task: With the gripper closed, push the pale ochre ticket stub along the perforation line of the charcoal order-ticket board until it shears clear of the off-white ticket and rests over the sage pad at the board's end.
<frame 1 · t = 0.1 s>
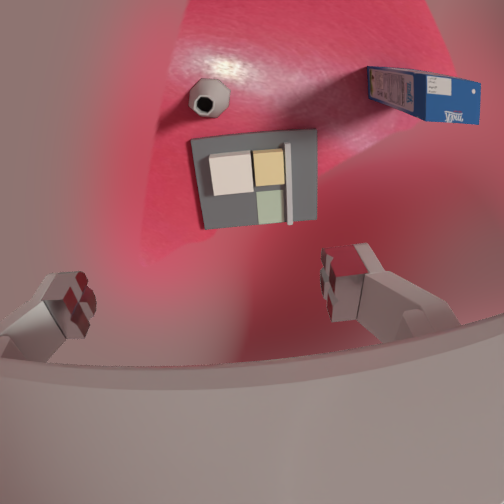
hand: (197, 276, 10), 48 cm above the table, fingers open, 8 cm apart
milk carton: (391, 83, 49), on the table
ticket board: (257, 178, 59), on the table
flask: (209, 97, 50), on the table
stub: (268, 167, 55), point 3 cm above the table, slide at 0.0 cm
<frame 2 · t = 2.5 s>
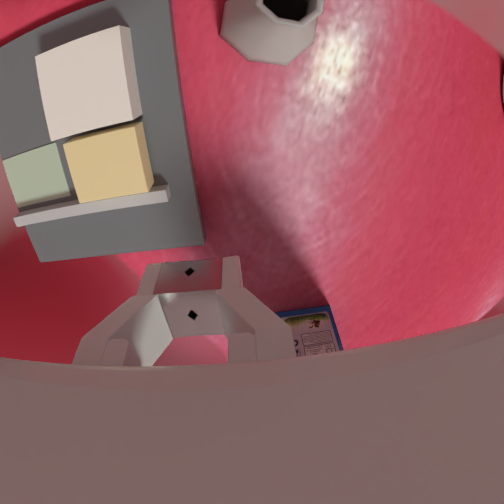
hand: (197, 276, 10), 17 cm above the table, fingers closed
milk carton: (302, 336, 37), on the table
ticket board: (83, 138, 23), on the table
flask: (269, 21, 19), on the table
stub: (108, 163, 22), point 3 cm above the table, slide at 0.0 cm
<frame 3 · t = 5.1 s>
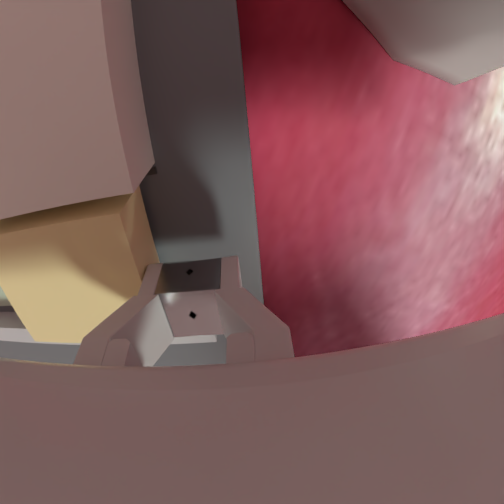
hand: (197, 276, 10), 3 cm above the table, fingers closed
ticket board: (37, 202, 11), on the table
stub: (74, 274, 10), point 3 cm above the table, slide at 0.6 cm, touching gripper
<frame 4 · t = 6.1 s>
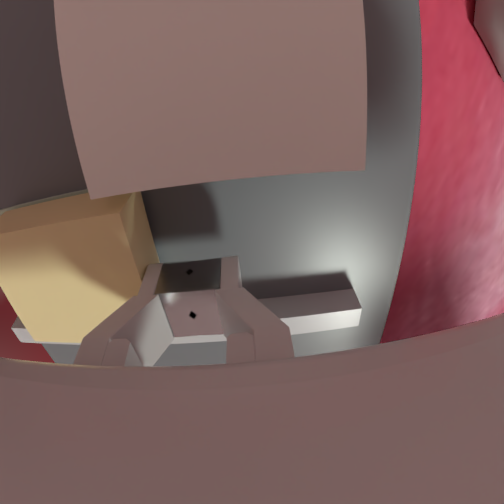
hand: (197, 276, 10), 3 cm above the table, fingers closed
ticket board: (160, 178, 11), on the table
stub: (73, 274, 10), point 3 cm above the table, slide at 6.3 cm, touching gripper
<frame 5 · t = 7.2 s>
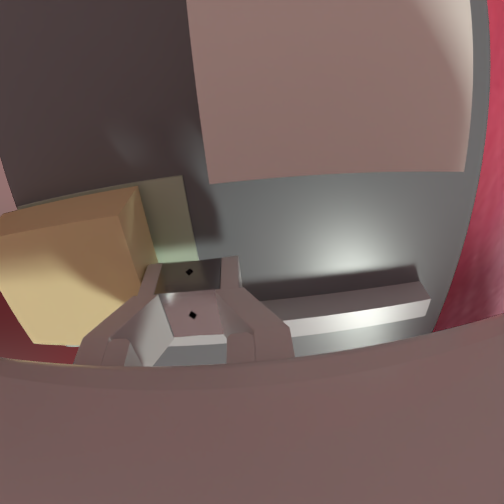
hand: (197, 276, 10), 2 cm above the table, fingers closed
ticket board: (249, 169, 11), on the table
stub: (72, 276, 10), point 3 cm above the table, slide at 9.5 cm, touching gripper
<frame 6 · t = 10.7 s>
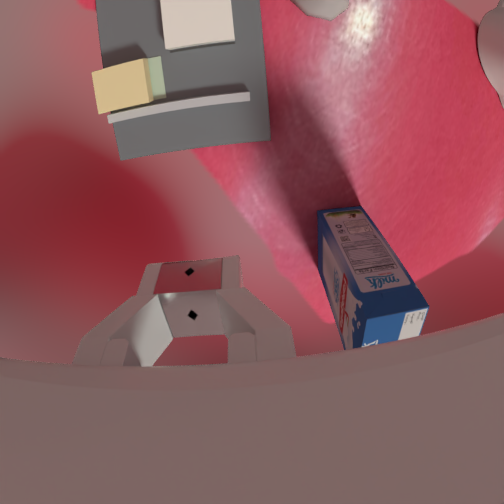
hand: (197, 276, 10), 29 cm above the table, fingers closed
milk carton: (338, 238, 45), on the table
ticket board: (181, 56, 30), on the table
stub: (122, 85, 29), point 3 cm above the table, slide at 9.5 cm
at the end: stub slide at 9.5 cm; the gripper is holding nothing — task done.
